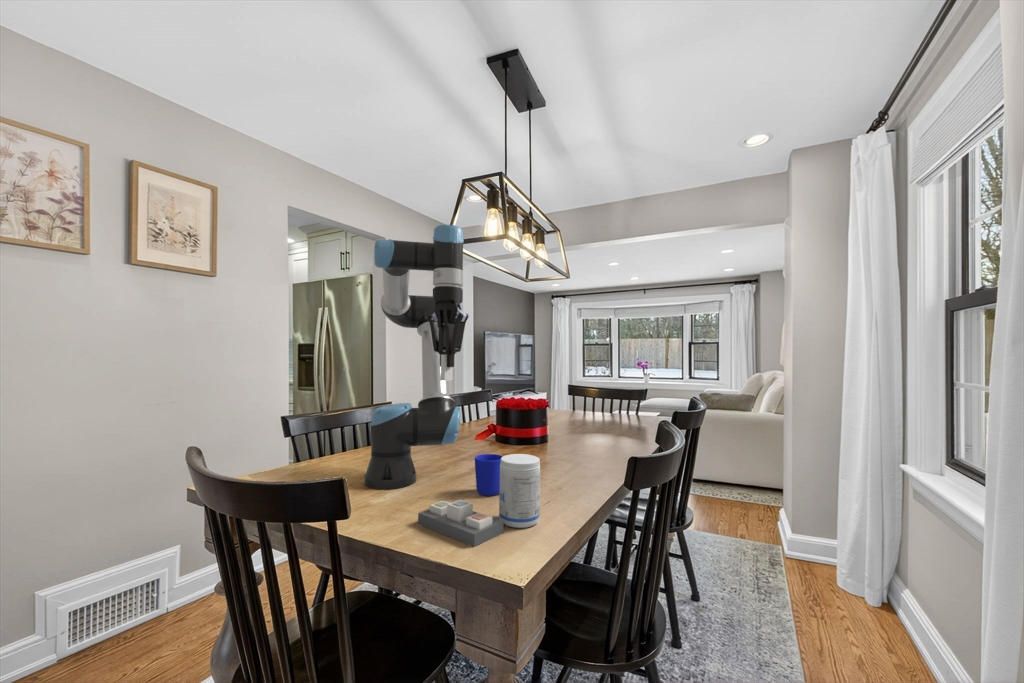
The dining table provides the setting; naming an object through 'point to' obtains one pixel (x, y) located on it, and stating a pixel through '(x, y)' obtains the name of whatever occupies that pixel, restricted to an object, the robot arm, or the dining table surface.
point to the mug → (488, 474)
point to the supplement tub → (519, 490)
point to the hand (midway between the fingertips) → (446, 380)
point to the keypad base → (460, 528)
